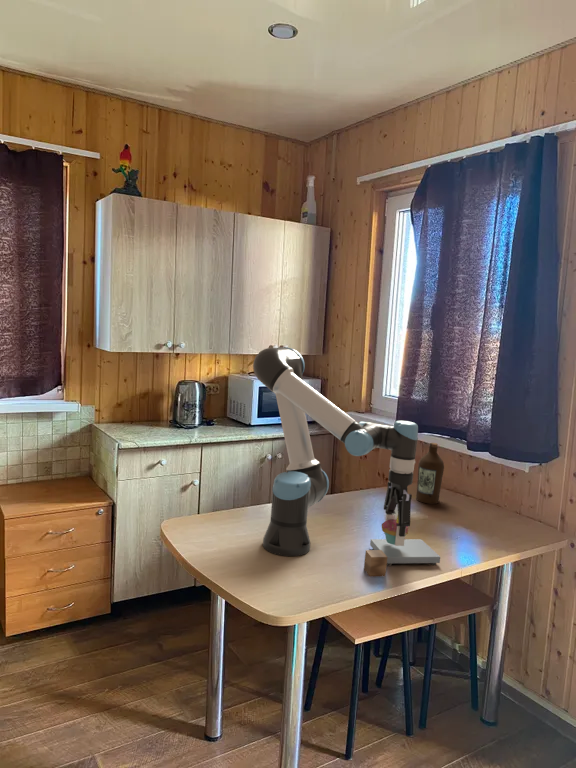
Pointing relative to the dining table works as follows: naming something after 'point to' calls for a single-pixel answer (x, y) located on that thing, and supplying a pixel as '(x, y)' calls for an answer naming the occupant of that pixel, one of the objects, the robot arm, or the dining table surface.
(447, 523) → the dining table surface
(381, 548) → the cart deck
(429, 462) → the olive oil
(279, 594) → the dining table surface
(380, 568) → the walnut block
